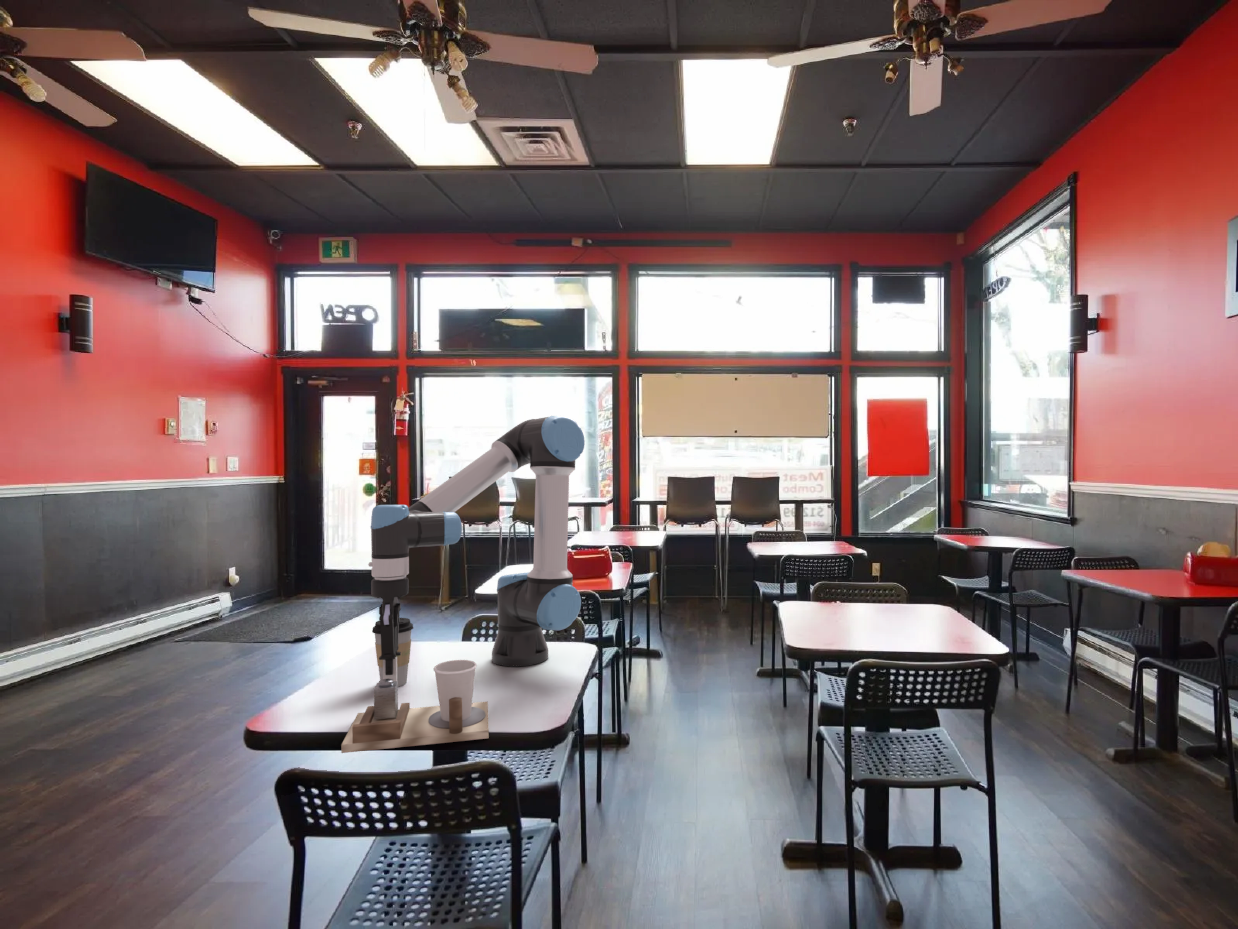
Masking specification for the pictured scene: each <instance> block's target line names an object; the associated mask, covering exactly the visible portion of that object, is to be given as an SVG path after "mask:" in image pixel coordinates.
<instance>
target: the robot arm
mask: <svg viewBox="0 0 1238 929" xmlns="http://www.w3.org/2000/svg"><path fill="white" fill-rule="evenodd" d="M585 442H586V440H585V435H584V433H583V430H582V428H581V426H580V425H578V423H577V422H576V421H575V420H574V419H573V418H571V417H568V416H565V415H551V416H547V417H539V418H531V419H528V420H525V421H522V422H520V423H519V424H517V425H516V426H514V427H513V428H511V429H510V430H508V431H507V432H506V433H505V434H503V435H501V437H499V438H497V439H496V440H495V441H493V442H492V443H491V447H490V448H489V450H487V451H486V452H484V453H483V454H482V455H481V456H479V457H478V458H476V459H475V460H474V461H472V462H470V463H469V464H468V465H466V466H465V467H463V468H462V469H461V470H460V471H459V472H457V473H455V474H454V475H452V476H451V477H450V478H448V479H447V480H446V481H444V482H443V483H441V484H440V485H439V486H437V487H436V488H434V489H433V490H432V491H431V492H429V493H427V494H426V495H424V496H423V497H422V498H421V499H419V500H417V501H416V502H415V503H414V504H412V505H410V506H408V505H407V504H379V505H375V506H374V507H373V508H372V511H371V519H370V534H371V535H370V538H371V544H370V545H371V561H370V562H368V564H367V565H368V567H370V568H371V576H372V578H373V579H372V580H371V582H370V585H371V586H370V588H371V590H370V592H371V597H373V598H376V599H381V600H382V602H381V604H380V605H379V607H378V614H379V617H378V619H379V620H380V628H381V654H382V655H381V656H380V657H379V660H383V679H393V681H397V657H396V656H399V655H401V652H397V650H398V649H399V646H398V633H399V621H400V618H401V617H400V615H401V614H400V613H401V609H402V608H401V607H402V603H400V602H399V600H398V598H401V597H406V596H407V595H408V594H409V590H410V589H409V582H410V581H409V578H408V577H407V575H409V574H410V556H409V555H410V554H409V551H410V549H411V548H419V547H421V548H422V547H437V546H438V547H439V546H443V547H446V546H449V545H455V544H457V543H458V542H459V541H460V539H461V537H462V534H463V532H462V531H463V529H462V528H463V525H462V521H461V518H460V516H459V514H458V513H456V512H457V511H458V510H460V508H462V507H463V506H465V505H467V503H469V502H470V501H471V500H472V499H474V498H476V497H477V496H478V495H479V494H480V493H482V492H483V491H485V490H486V489H488V487H490V486H492V485H493V484H494V483H496V482H497V481H498V480H499V479H501V478H502V477H504V475H506V474H507V473H508V472H510V473H514V472H516V471H517V470H519V469H520V468H522V467H524V466H527V465H529V468H530V471H532V472H533V473H534V474H535V492H534V497H535V498H534V529H533V530H534V534H533V535H534V536H533V568H532V569H531V570H530V571H528V572H519V573H513V574H504V575H501V576H500V577H499V578H498V580H497V586H496V592H497V634H496V637H495V641H494V644H493V647H492V650H491V661H492V663H493V664H496V665H498V666H502V667H503V666H504V667H525V666H532V665H533V666H534V665H537V664H541V663H544V662H545V661H547V660H548V659H549V648H548V645H547V641H546V638H545V635H544V632H543V629H544V630H547V631H550V630H551V631H561V630H565V629H567V628H568V627H570V626H571V625H572V624H573V622H574V621H575V620H576V619H577V617H578V616H579V613H580V612H581V606H582V597H581V595H580V592H579V591H578V590H577V588H576V587H575V586H573V584H574V583H573V579H574V578H573V575H574V574H572V572H570V570H569V569H568V544H569V543H568V534H569V531H568V530H569V495H570V494H569V493H570V491H569V490H570V489H569V488H570V475H571V474H572V473H573V472H574V471H575V470H576V460H577V459H578V458H580V456H581V454H583V452H584V449H585ZM379 620H378V621H379Z"/></svg>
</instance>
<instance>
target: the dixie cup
mask: <svg viewBox="0 0 1238 929" xmlns="http://www.w3.org/2000/svg"><path fill="white" fill-rule="evenodd" d="M477 666H478V664H477V663H476V662H475V661H473V660H468V659H455V660H453V659H452V660H447V661H443V662H440V663H437V664H436V665H435V666H434V667H433V671H434V673H435V682H436V689H437V695H438V696H437V697H438V702H439V706H440V712H441V718H442V720H444V721H449V699H451V698H454V697H461V698H462V720H464V719H467V718H469V717H470V715H471V706H472V703H473V697H474V696H473V694H474V684H475V677H476V668H477Z"/></svg>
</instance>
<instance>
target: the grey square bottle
mask: <svg viewBox="0 0 1238 929" xmlns="http://www.w3.org/2000/svg"><path fill="white" fill-rule="evenodd" d="M373 706H374V720H375V719H386V718H396V715H397V712H398V709H399V686H398V681H393V679H383V680H380V679H379V681H378V682H376V684H375V686H374V688H373Z"/></svg>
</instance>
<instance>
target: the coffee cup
mask: <svg viewBox="0 0 1238 929" xmlns="http://www.w3.org/2000/svg"><path fill="white" fill-rule="evenodd" d="M374 624H375V625H374V626H373V627H372V630H371V631H372V634H374V639H375V640H374V641H375V642H374V645H375V654H376V662H377V664H376V665H377V667H378V672H379V673H378V674H379V681H380V680H383V660H379V657H380V656H381V655H382V654H381V628H380V620H377V621H375V623H374ZM413 629H414V623H412V622H411V619H410V618H407V617H400V621H399V633H398V646H399V649H398V650H397V652H401V655H399V656H396V657H397V681H398V687H403V686H404V685H406V684H407V681H408V672H409V663H410V656H411V646H412V637H411V636H412V630H413Z"/></svg>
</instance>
